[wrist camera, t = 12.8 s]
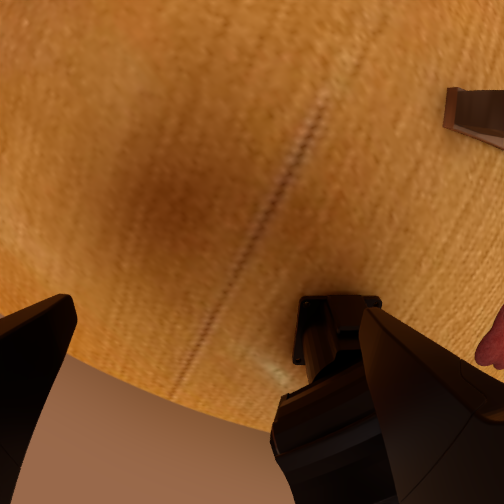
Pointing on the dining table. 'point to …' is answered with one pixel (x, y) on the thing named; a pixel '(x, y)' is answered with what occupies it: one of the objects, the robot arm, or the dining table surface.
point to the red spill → (492, 344)
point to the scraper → (476, 114)
